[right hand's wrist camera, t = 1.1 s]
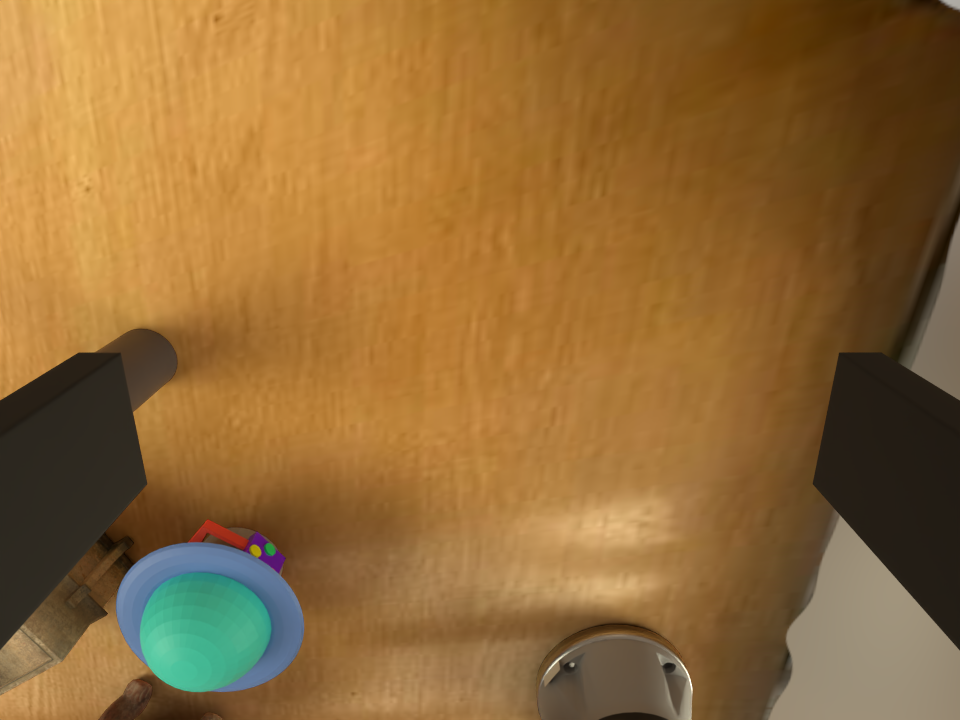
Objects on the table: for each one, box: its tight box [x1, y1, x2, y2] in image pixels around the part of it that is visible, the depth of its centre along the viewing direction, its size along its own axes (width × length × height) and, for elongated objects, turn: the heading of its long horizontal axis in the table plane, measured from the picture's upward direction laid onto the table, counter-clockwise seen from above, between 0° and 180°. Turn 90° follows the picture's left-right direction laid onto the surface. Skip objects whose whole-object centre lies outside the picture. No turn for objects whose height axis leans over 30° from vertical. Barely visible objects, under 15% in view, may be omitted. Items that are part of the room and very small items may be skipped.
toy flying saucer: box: [116, 519, 304, 692], centre depth 56 cm, size 15×15×14 cm
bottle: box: [95, 329, 177, 412], centre depth 46 cm, size 5×5×21 cm
